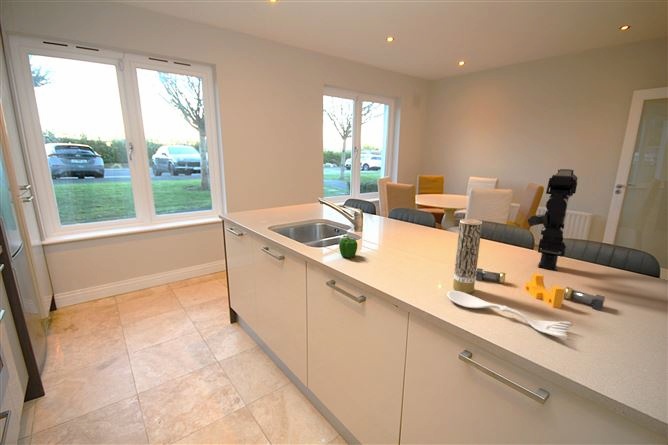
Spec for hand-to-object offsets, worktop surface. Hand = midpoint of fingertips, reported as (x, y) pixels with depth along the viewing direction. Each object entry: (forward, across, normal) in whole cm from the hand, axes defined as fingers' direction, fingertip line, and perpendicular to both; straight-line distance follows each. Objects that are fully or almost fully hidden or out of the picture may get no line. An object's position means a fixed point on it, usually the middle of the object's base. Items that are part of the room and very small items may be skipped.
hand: (549, 249), depth 112 cm
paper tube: (+12, +32, -21) cm, 40 cm away
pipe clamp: (+12, +21, +1) cm, 24 cm away
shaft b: (+12, +17, -16) cm, 26 cm away
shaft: (+12, +16, +11) cm, 23 cm away
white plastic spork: (+12, +42, -8) cm, 45 cm away
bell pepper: (+12, +30, -73) cm, 80 cm away
